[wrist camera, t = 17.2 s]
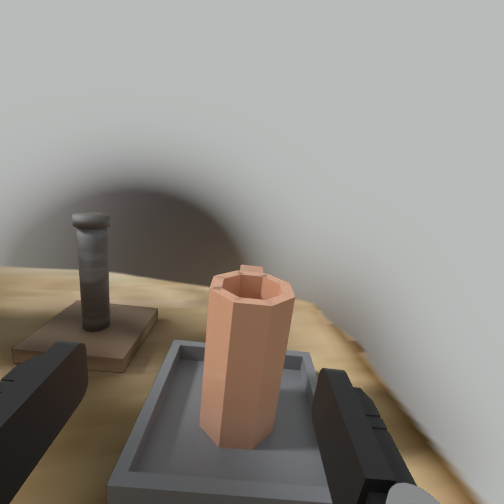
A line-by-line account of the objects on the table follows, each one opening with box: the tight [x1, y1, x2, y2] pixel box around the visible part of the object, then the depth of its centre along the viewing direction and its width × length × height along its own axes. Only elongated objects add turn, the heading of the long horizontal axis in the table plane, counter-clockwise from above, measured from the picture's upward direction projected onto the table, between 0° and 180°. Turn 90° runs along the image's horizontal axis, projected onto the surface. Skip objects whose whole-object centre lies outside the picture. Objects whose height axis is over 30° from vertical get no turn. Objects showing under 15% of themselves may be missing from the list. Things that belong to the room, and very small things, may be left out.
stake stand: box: [12, 212, 158, 373], centre depth 29 cm, size 10×10×14 cm
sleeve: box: [199, 265, 295, 450], centre depth 21 cm, size 7×6×11 cm
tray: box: [106, 340, 332, 504], centre depth 22 cm, size 14×14×2 cm
